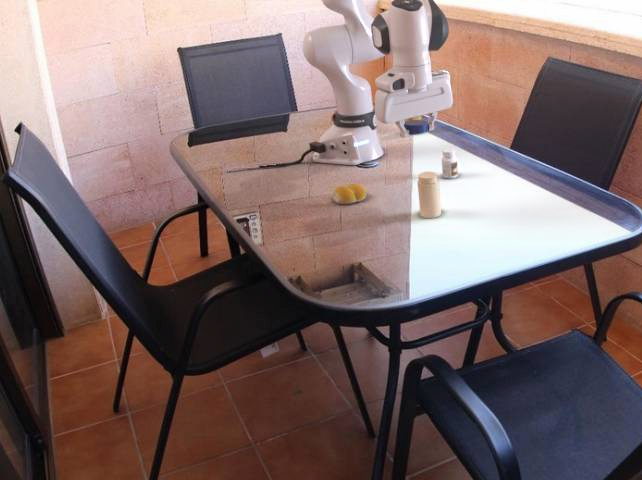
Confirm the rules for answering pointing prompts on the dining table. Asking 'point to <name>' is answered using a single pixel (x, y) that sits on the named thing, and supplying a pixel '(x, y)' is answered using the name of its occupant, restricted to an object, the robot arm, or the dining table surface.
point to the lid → (416, 126)
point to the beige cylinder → (429, 195)
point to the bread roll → (349, 194)
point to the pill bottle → (449, 164)
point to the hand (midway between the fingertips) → (417, 133)
